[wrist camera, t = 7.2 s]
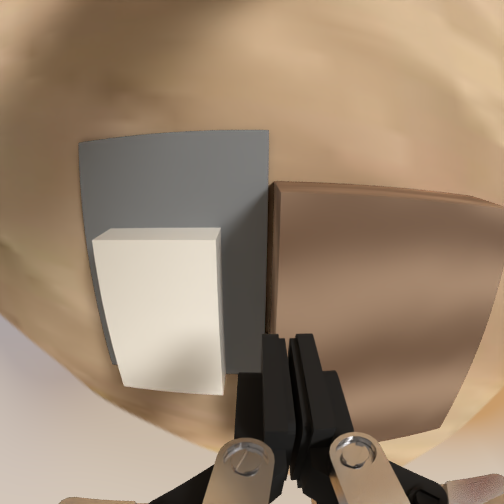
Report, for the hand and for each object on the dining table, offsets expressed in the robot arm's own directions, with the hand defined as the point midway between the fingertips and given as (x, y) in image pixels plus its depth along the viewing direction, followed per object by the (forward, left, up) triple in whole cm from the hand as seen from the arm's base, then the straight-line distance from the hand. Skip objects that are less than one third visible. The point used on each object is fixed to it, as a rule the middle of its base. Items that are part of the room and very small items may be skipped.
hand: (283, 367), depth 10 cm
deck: (+2, +6, -7) cm, 9 cm away
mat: (-1, -5, -7) cm, 9 cm away
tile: (+1, -6, -5) cm, 7 cm away
